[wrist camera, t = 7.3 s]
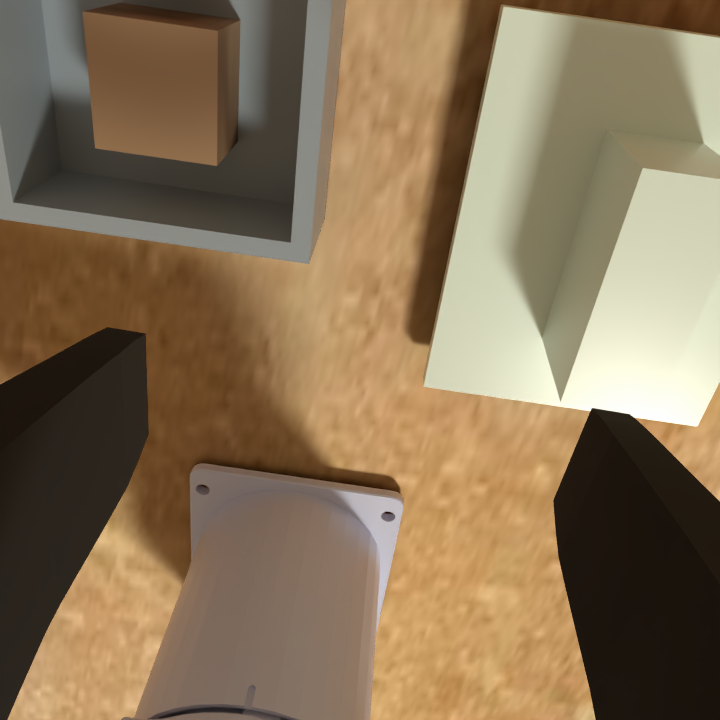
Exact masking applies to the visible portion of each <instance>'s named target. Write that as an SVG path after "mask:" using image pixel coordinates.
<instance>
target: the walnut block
mask: <svg viewBox="0 0 720 720" xmlns="http://www.w3.org/2000/svg"><path fill="white" fill-rule="evenodd" d="M83 21H84V32H85V43H86V54H87V65H88V76H89V87H90V98H91V109H92V120H93V131H94V142H95V148H97V149H103V150H110V151H117V152H124V153H131V154H138V155H145V156H152V157H159V158H166V159H172V160H179V161H186V162H193V163H200V164H207V165H214V166H217V165H218V164H219V163H220V162H221V161H222V160H223V159H224V157H225V156H226V155H227V154H228V153H229V152H230V151H231V149H232V148H233V147H234V146H235V145H236V144H237V143H238V110H239V66H240V23H241V20H238V19H231V18H224V17H217V16H210V15H203V14H196V13H190V12H183V11H176V10H169V9H162V8H155V7H148V6H141V5H134V4H127V3H116V4H112V5H107V6H103V7H99V8H95V9H90V10H86V11H83Z"/></svg>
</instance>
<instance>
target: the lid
mask: <svg viewBox="0 0 720 720" xmlns="http://www.w3.org/2000/svg"><path fill="white" fill-rule="evenodd" d="M719 382H720V36H718V35H711V34H704V33H697V32H690V31H683V30H676V29H669V28H662V27H656V26H649V25H642V24H635V23H628V22H621V21H614V20H607V19H600V18H593V17H587V16H580V15H573V14H566V13H559V12H552V11H545V10H538V9H531V8H524V7H517V6H511V5H504V4H501V7H500V12H499V16H498V21H497V26H496V31H495V36H494V40H493V45H492V50H491V55H490V59H489V64H488V69H487V74H486V79H485V83H484V88H483V93H482V98H481V103H480V107H479V112H478V117H477V122H476V127H475V131H474V136H473V141H472V146H471V150H470V155H469V160H468V165H467V170H466V174H465V179H464V184H463V189H462V194H461V198H460V203H459V208H458V213H457V218H456V222H455V227H454V232H453V237H452V242H451V246H450V251H449V256H448V261H447V265H446V270H445V275H444V280H443V285H442V289H441V294H440V299H439V304H438V309H437V313H436V318H435V323H434V328H433V333H432V337H431V342H430V347H429V352H428V356H427V361H426V366H425V371H424V376H423V387H429V388H436V389H442V390H449V391H456V392H463V393H470V394H477V395H484V396H491V397H497V398H504V399H511V400H518V401H525V402H532V403H539V404H546V405H553V406H559V407H566V408H573V409H580V410H587V411H591V409H592V408H596V409H602V410H608V411H614V412H620V413H626V414H630V415H631V416H633V417H635V418H642V419H649V420H656V421H663V422H670V423H676V424H683V425H690V426H698V424H699V422H700V420H701V418H702V416H703V414H704V412H705V410H706V408H707V406H708V404H709V402H710V400H711V398H712V396H713V394H714V392H715V390H716V388H717V386H718V384H719Z"/></svg>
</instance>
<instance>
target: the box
mask: <svg viewBox="0 0 720 720" xmlns="http://www.w3.org/2000/svg"><path fill="white" fill-rule="evenodd" d="M116 3H127V4H134V5H141V6H148V7H155V8H162V9H169V10H176V11H183V12H190V13H196V14H203V15H210V16H217V17H224V18H231V19H238V20H241V23H240V66H239V110H238V143H237V144H236V145H235V146H234V147H233V148H232V149H231V151H230V152H229V153H228V154H227V155H226V156H225V157H224V159H223V160H222V161H221V162H220V163H219V164H218V165H217V166H214V165H207V164H200V163H193V162H186V161H179V160H172V159H166V158H159V157H152V156H145V155H138V154H131V153H124V152H117V151H110V150H103V149H97V148H95V142H94V131H93V120H92V109H91V98H90V87H89V76H88V65H87V54H86V43H85V32H84V21H83V11H86V10H90V9H95V8H99V7H103V6H107V5H112V4H116ZM345 4H346V0H0V219H3V220H9V221H16V222H23V223H30V224H37V225H44V226H51V227H58V228H65V229H72V230H78V231H85V232H92V233H99V234H106V235H113V236H120V237H127V238H134V239H140V240H147V241H154V242H161V243H168V244H175V245H182V246H189V247H196V248H203V249H209V250H216V251H223V252H230V253H237V254H244V255H251V256H258V257H265V258H272V259H278V260H285V261H292V262H299V263H306V264H309V263H310V260H311V257H312V254H313V251H314V248H315V245H316V242H317V239H318V236H319V234H320V231H321V228H322V225H323V222H324V219H325V209H326V199H327V188H328V178H329V168H330V158H331V147H332V137H333V127H334V117H335V106H336V96H337V86H338V76H339V65H340V55H341V45H342V35H343V24H344V14H345Z"/></svg>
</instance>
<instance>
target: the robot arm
mask: <svg viewBox="0 0 720 720" xmlns="http://www.w3.org/2000/svg"><path fill="white" fill-rule="evenodd" d="M148 434H149V433H148V400H147V367H146V334H144V333H138V332H132V331H126V330H120V329H114V328H108V327H107V328H105V329H103V330H101V331H99V332H97V333H95V334H93V335H91V336H89V337H87V338H85V339H83V340H82V341H80V342H78V343H76V344H74V345H72V346H71V347H69V348H67V349H65V350H63V351H62V352H60V353H58V354H56V355H54V356H52V357H51V358H49V359H47V360H45V361H43V362H41V363H40V364H38V365H36V366H34V367H32V368H30V369H28V370H27V371H25V372H23V373H21V374H19V375H17V376H15V377H14V378H12V379H10V380H8V381H6V382H4V383H2V384H0V720H7V719H8V717H9V715H10V712H11V710H12V707H13V705H14V703H15V700H16V698H17V696H18V693H19V691H20V689H21V686H22V684H23V682H24V680H25V678H26V675H27V673H28V671H29V669H30V666H31V664H32V662H33V660H34V657H35V655H36V653H37V651H38V648H39V646H40V644H41V642H42V639H43V637H44V635H45V633H46V631H47V629H48V627H49V625H50V623H51V621H52V619H53V617H54V615H55V613H56V611H57V609H58V608H59V606H60V604H61V602H62V600H63V598H64V597H65V595H66V593H67V591H68V590H69V588H70V586H71V585H72V583H73V581H74V579H75V578H76V576H77V574H78V572H79V571H80V569H81V567H82V565H83V564H84V562H85V560H86V559H87V557H88V555H89V553H90V552H91V550H92V548H93V546H94V545H95V543H96V541H97V539H98V538H99V536H100V534H101V532H102V531H103V529H104V527H105V526H106V524H107V522H108V520H109V518H110V517H111V515H112V513H113V511H114V510H115V508H116V506H117V504H118V503H119V501H120V499H121V497H122V495H123V494H124V492H125V490H126V488H127V486H128V484H129V481H130V479H131V477H132V474H133V472H134V470H135V467H136V465H137V462H138V460H139V457H140V455H141V452H142V449H143V447H144V444H145V442H146V439H147V437H148ZM202 484H203V485H206V486H207V487H208V488H205V487H202V486H201V485H202ZM403 508H404V498H403V497H402V495H401V494H399V493H398V492H395V491H391V490H384V489H377V488H371V487H364V486H357V485H350V484H343V483H336V482H329V481H322V480H315V479H309V478H302V477H295V476H288V475H281V474H274V473H267V472H260V471H254V470H247V469H240V468H233V467H226V466H219V465H212V464H205V463H200V464H197V465H195V466H194V467H193V469H192V471H191V473H190V522H191V564H190V567H189V569H188V572H187V575H186V578H185V580H184V583H183V586H182V589H181V591H180V594H179V597H178V599H177V602H176V605H175V608H174V610H173V613H172V616H171V618H170V621H169V624H168V627H167V629H166V632H165V635H164V638H163V640H162V643H161V646H160V648H159V651H158V654H157V657H156V659H155V662H154V665H153V668H152V670H151V673H150V676H149V678H148V681H147V684H146V687H145V689H144V692H143V695H142V697H141V700H140V703H139V706H138V708H137V711H136V714H135V717H134V718H131V717H124V718H122V719H121V720H370V714H371V699H372V684H373V669H374V654H375V639H376V633H377V628H378V623H379V619H380V614H381V610H382V605H383V600H384V596H385V591H386V587H387V582H388V577H389V573H390V568H391V564H392V559H393V554H394V550H395V545H396V541H397V536H398V531H399V527H400V522H401V518H402V513H403ZM384 512H392V514H386V513H384ZM554 513H555V526H556V537H557V546H558V555H559V560H560V565H561V570H562V574H563V578H564V583H565V587H566V591H567V596H568V600H569V604H570V608H571V613H572V617H573V621H574V625H575V629H576V633H577V637H578V642H579V646H580V650H581V654H582V658H583V662H584V667H585V671H586V675H587V679H588V683H589V687H590V692H591V697H592V703H593V708H594V713H595V718H596V720H720V501H719V500H718V499H717V498H715V497H714V496H713V495H712V494H711V493H710V492H709V491H708V490H707V489H706V488H705V487H704V486H703V485H702V484H701V483H700V482H699V481H698V480H697V479H696V478H695V477H694V476H693V475H692V474H691V473H690V472H689V471H688V470H687V469H686V468H685V467H684V466H683V465H682V464H681V463H680V462H679V461H678V460H677V459H676V458H675V457H674V456H673V455H672V454H671V453H670V452H669V451H668V450H667V449H666V448H665V447H664V446H663V445H662V444H661V443H660V442H659V441H658V440H657V439H656V438H655V437H654V436H653V435H652V434H651V433H650V432H649V431H648V430H647V429H646V428H645V427H644V426H643V425H642V424H640V423H639V422H638V421H637V420H636V419H635V418H634V417H633V416H631V415H630V414H626V413H620V412H614V411H608V410H602V409H596V408H592V409H591V411H590V414H589V416H588V419H587V421H586V423H585V426H584V428H583V431H582V433H581V435H580V438H579V440H578V443H577V445H576V447H575V450H574V452H573V455H572V457H571V459H570V462H569V464H568V467H567V469H566V471H565V474H564V476H563V479H562V481H561V484H560V486H559V488H558V491H557V493H556V496H555V498H554Z"/></svg>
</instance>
